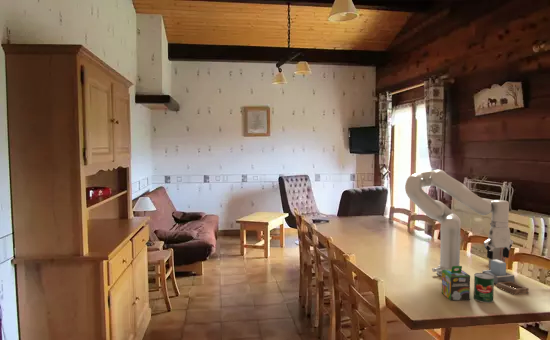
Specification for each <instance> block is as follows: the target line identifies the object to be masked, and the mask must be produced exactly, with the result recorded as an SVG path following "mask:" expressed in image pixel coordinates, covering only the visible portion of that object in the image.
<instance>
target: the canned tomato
mask: <svg viewBox="0 0 550 340" xmlns="http://www.w3.org/2000/svg"><path fill="white" fill-rule="evenodd" d="M473 280H474V283H473V299H474V300H475V301H477V302H480V303H484V304H485V303H486V304H490V303H493V302H494V293H495V292H494V290H495V289H494V288H495V284H494V276H493V275H490V274H486V273H482V272H475V273H474V279H473Z"/></svg>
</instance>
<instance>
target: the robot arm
mask: <svg viewBox="0 0 550 340" xmlns="http://www.w3.org/2000/svg"><path fill="white" fill-rule="evenodd" d="M431 186H432V187H433V186H435V187H436V188H438V189H439V190H441V191H442V192H444V193H445V194H447V195H448V196H451V197H452V198H453V199H455V200H456V201H458V202H460V203H461V204H462V205H464V206H465V207H467V208H469V209H470V210H471V211H473V212H475V213H476V214H478V215H480V216H481V215H482V216H487V215H490V213H491V221H490V223H489V224H490V227H489V231H488V235H487V239H485V241H483V246H484V248H485V250H486V251H487V252H486V258H487V259H489V258H490V259H493V251H492V250H493V249H494V247H495V248H504V249H503V257H505V259H509V256H510V251H511V248H512V246H513V244H514V240H513V239H511V230H510V227H509V217H510V215H509V212H510V202H509V201H507V200H503V199H490V198H484V197H480V196H478V195H477V194H476V193H474V192H473V191H472V190H470V189H469V188H468V187H467V186H466V184H463V183H462V182H460V181H459V180H457V179H456V178H454V177H452V176H451V175H449V174H448V173H446V171H444V170H443V169H433V170H428V171H421V172H415V173H413V174H411V175H410V176H408V178H406V182H405V188H404V189H405V194H406V195H407V197H408V199H409V200H411V202H412V203H414V204H415V206H417V207H418V208H419V209H420V210H421V211H422V212H423V213H424V214H425V215H426V216H427V217H428V218H430V219H432V220H436V221H437V222H438V223H440V228H439V229H440V243H439V245H440V247H439V248H440V252H439V255H440V256H439V259H440V260H439V264H438V266H437V267H433V268H431V270H432V272H433V273H434V272H436V274H437V275H438V276H440V277H442V270H451V269H452V266H461V265H460V259H461V256H460V255H461V226H462V221H461V218H460V217H459V216H458V215H457V214H456V213H455V212H454V211H453V210H452V209H451V208H450V207H448V206H447V205H446V204H445V203H443V202H442V201H440V200H437V199H433V198H432V197H431V196H430V195H429V194H428V193H427V192H426V191H424V189H423V188H424V187H431ZM490 247H491V248H490ZM455 269H459V268H455Z"/></svg>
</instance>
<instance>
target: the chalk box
mask: <svg viewBox="0 0 550 340" xmlns="http://www.w3.org/2000/svg"><path fill="white" fill-rule="evenodd" d="M455 268H459V269H455ZM462 269H463V266H462V265H460V266H452V269H451V270H442V276H441V288H442V289H441V293H442V295H444V297H446V298H447V299H449V300H450V301H470V296H471V295H470V293H471V275H470V274H469V273H467V272H465V270H462Z"/></svg>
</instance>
